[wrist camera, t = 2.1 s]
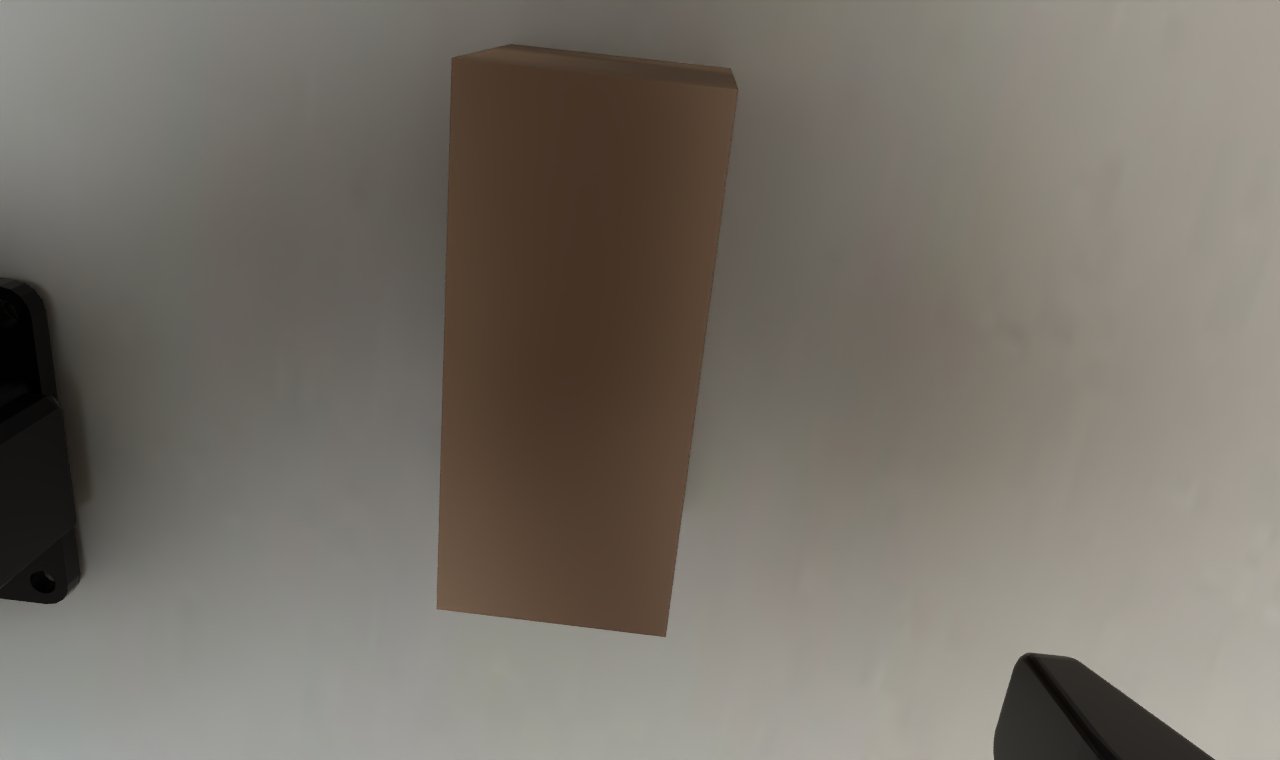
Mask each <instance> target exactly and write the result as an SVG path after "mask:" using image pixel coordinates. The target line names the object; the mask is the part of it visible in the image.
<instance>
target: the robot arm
mask: <svg viewBox="0 0 1280 760" xmlns="http://www.w3.org/2000/svg"><path fill="white" fill-rule="evenodd" d="M4 301H7V302H9V303H10V304H11V305H12V306H13V307H14V308H15V310H16V312H17V315H18V317H17V319H14V318H12V317H11V316H10V315H9V314H8V313H7V312H6V309H5V307H4ZM75 523H76V514H75V507H74V499H73V491H72V483H71V476H70V468H69V460H68V453H67V445H66V437H65V429H64V422H63V414H62V409H61V408H60V406H59V404H58V400H57V392H56V385H55V377H54V369H53V362H52V354H51V346H50V339H49V331H48V323H47V316H46V309H45V306H44V303H43V300H42V298H41V297H40V296H39V295H38V293H37V292H36V291H35V290H34V289H33V288H31V287H30V286H29V285H27V284H26V283H23V282H20V281H17V280H12V279H3V278H0V598H2V599H10V600H18V601H26V602H34V603H43V604H54V603H57V602H59V601H61V600H63V599H64V598H65V597H66V596H67V595H68V594H70V593H71V592H72V591H73V590H74V589H75V588H76V586H77V585H78V583H79V582H80V568H79V560H78V553H77V545H76V537H75V530H74V525H75ZM44 572H46V573H48V574H49V575H51V576H52V577H53V578H54V581H52V580H50V579H49V578H48V577H47V576H45V574H44ZM993 751H994V760H1215V759H1214V758H1212V757H1211V756H1209V755H1208V754H1207V753H1205V752H1204V751H1202V750H1201V749H1200V748H1198V747H1197V746H1196V745H1194V744H1193V743H1191V742H1190V741H1189V740H1187V739H1186V738H1184V737H1183V736H1182V735H1180V734H1179V733H1178V732H1176V731H1175V730H1173V729H1172V728H1171V727H1169V726H1168V725H1166V724H1165V723H1164V722H1162V721H1161V720H1160V719H1158V718H1157V717H1155V716H1154V715H1153V714H1151V713H1150V712H1148V711H1147V710H1146V709H1144V708H1143V707H1142V706H1140V705H1139V704H1137V703H1136V702H1135V701H1133V700H1132V699H1130V698H1129V697H1128V696H1126V695H1125V694H1124V693H1122V692H1121V691H1119V690H1118V689H1117V688H1115V687H1114V686H1112V685H1111V684H1110V683H1108V682H1107V681H1106V680H1104V679H1103V678H1101V677H1100V676H1099V675H1097V674H1096V673H1095V672H1093V671H1092V670H1090V669H1089V668H1088V667H1086V666H1085V665H1083V664H1082V663H1081V662H1079V661H1078V660H1076V659H1073V658H1070V657H1065V656H1056V655H1047V654H1038V653H1026V654H1024V655H1023V656H1021V657H1020V658H1019V659H1018V661H1017V662H1016V664H1015V666H1014V669H1013V672H1012V675H1011V679H1010V682H1009V686H1008V689H1007V693H1006V696H1005V699H1004V703H1003V706H1002V710H1001V713H1000V716H999V720H998V723H997V727H996V730H995V735H994V749H993Z"/></svg>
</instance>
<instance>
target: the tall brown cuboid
mask: <svg viewBox="0 0 1280 760" xmlns="http://www.w3.org/2000/svg"><path fill="white" fill-rule="evenodd" d="M737 94H738V88H737V85H736V82H735V79H734V77H733V74H732V71H731V68H722V67H713V66H704V65H694V64H685V63H676V62H667V61H658V60H649V59H640V58H630V57H621V56H612V55H603V54H594V53H585V52H576V51H566V50H557V49H548V48H539V47H530V46H521V45H512V44H510V45H506V46H501V47H497V48H493V49H488V50H484V51H480V52H476V53H471V54H467V55H463V56H459V57H454V58H452V71H451V107H450V143H449V180H448V216H447V252H446V288H445V325H444V361H443V397H442V433H441V469H440V506H439V542H438V578H437V609H440V610H449V611H457V612H465V613H473V614H481V615H489V616H498V617H506V618H514V619H522V620H530V621H539V622H547V623H555V624H563V625H571V626H579V627H588V628H596V629H604V630H612V631H620V632H629V633H637V634H645V635H653V636H661V637H666V631H667V623H668V616H669V608H670V600H671V593H672V585H673V578H674V570H675V563H676V555H677V548H678V540H679V532H680V525H681V517H682V510H683V502H684V495H685V487H686V480H687V472H688V464H689V457H690V449H691V442H692V434H693V427H694V419H695V412H696V404H697V396H698V389H699V381H700V374H701V366H702V359H703V351H704V343H705V336H706V328H707V321H708V313H709V306H710V298H711V291H712V283H713V275H714V268H715V260H716V253H717V245H718V238H719V230H720V223H721V215H722V207H723V200H724V192H725V185H726V177H727V170H728V162H729V155H730V147H731V139H732V132H733V124H734V117H735V109H736V102H737Z"/></svg>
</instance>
